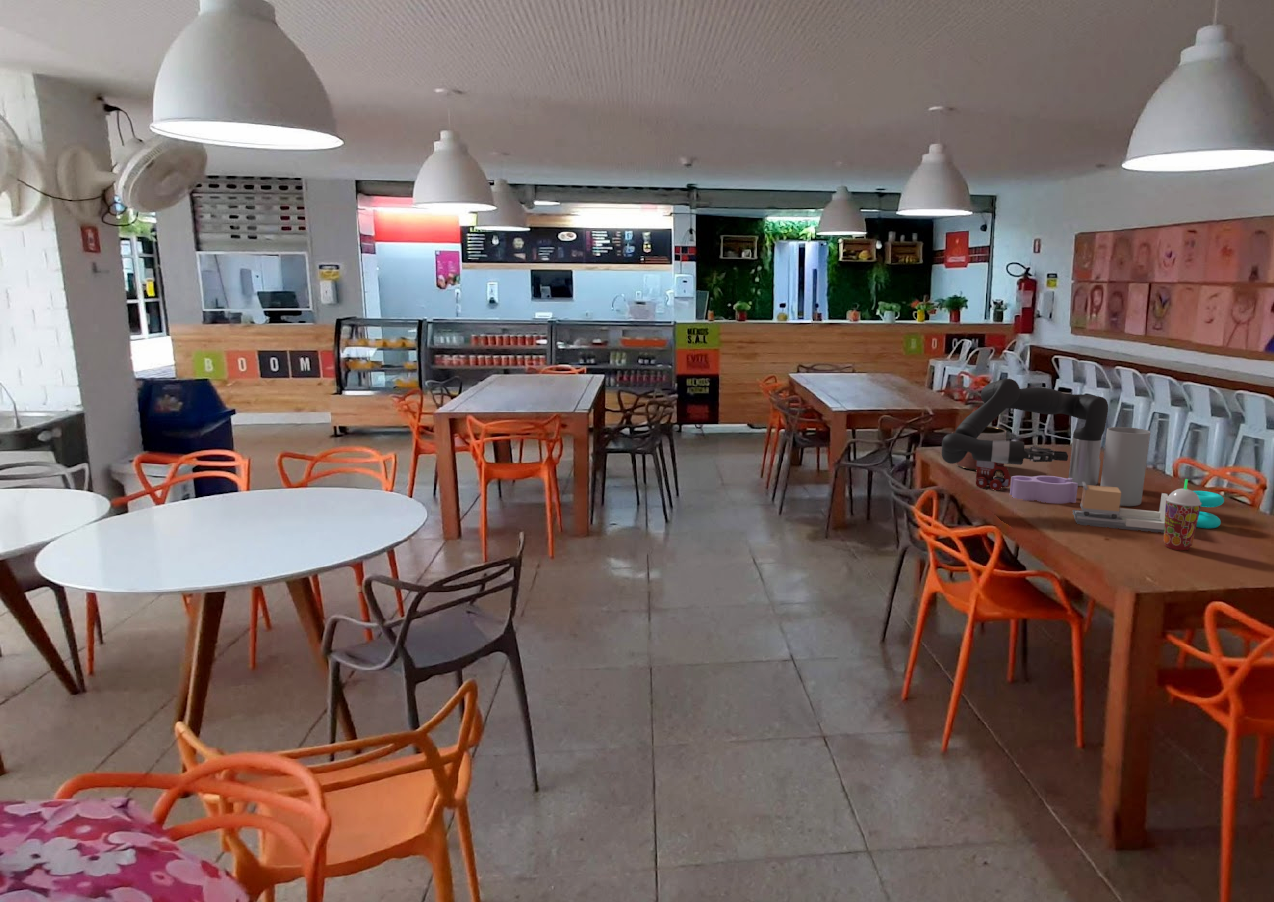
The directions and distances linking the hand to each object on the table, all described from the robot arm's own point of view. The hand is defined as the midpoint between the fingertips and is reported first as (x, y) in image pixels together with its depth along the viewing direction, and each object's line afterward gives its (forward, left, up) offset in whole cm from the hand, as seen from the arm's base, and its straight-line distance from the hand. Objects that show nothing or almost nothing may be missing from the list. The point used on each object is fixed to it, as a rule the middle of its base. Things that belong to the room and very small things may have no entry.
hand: (1066, 456), depth 254 cm
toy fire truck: (-9, -37, -20) cm, 43 cm away
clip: (-14, -19, -20) cm, 31 cm away
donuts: (-33, +23, -20) cm, 45 cm away
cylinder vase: (-34, -5, -20) cm, 40 cm away
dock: (-12, +12, -20) cm, 26 cm away
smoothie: (-5, +35, -20) cm, 40 cm away
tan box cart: (-7, +7, -18) cm, 21 cm away
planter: (-30, -64, -20) cm, 74 cm away
